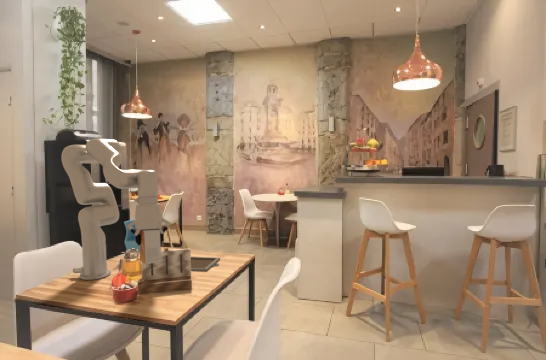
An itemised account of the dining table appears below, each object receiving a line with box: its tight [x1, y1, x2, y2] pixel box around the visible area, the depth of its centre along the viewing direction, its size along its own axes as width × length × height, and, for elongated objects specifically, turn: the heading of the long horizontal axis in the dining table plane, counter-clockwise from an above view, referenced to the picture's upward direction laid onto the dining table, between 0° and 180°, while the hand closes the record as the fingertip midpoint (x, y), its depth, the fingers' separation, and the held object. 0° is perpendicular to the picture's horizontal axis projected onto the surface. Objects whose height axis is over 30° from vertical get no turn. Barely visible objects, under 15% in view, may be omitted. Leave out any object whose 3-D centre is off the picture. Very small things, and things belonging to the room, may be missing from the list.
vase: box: [123, 219, 140, 253], centre depth 183 cm, size 8×8×20 cm
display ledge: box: [137, 247, 193, 295], centre depth 141 cm, size 20×15×14 cm
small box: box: [139, 229, 162, 264], centre depth 139 cm, size 8×6×13 cm
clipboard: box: [191, 256, 221, 272], centre depth 171 cm, size 19×2×30 cm
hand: (149, 243), depth 139 cm, fingers closed on small box, 7 cm apart
